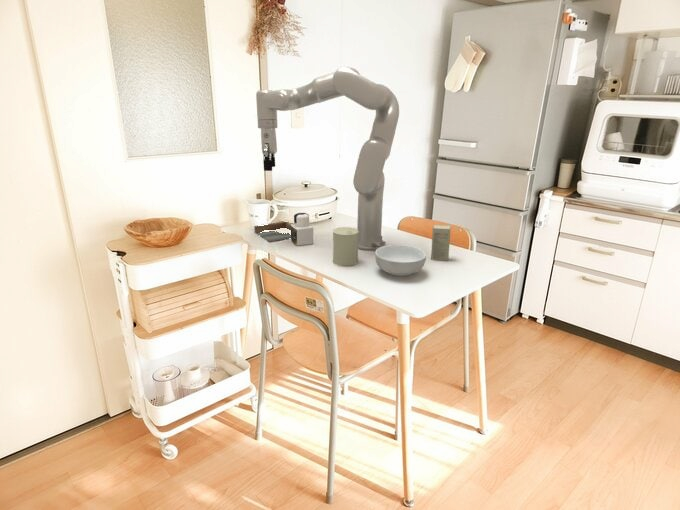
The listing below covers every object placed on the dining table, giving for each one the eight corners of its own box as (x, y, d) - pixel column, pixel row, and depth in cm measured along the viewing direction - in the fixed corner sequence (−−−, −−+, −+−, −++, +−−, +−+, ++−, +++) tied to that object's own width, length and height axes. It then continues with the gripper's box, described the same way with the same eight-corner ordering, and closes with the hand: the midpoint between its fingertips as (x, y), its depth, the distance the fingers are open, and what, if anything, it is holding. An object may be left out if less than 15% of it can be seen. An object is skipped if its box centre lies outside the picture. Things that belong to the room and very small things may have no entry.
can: (342, 268, 153) (343, 235, 148) (327, 260, 160) (327, 228, 155) (363, 262, 158) (364, 230, 154) (347, 255, 165) (348, 224, 161)
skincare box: (448, 257, 163) (451, 225, 159) (448, 261, 159) (451, 229, 155) (431, 255, 165) (433, 224, 161) (430, 259, 161) (432, 227, 157)
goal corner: (303, 236, 186) (303, 229, 185) (269, 242, 178) (269, 235, 177) (287, 227, 198) (286, 220, 197) (254, 232, 190) (254, 226, 189)
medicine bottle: (290, 241, 180) (290, 212, 176) (307, 239, 183) (306, 210, 179) (296, 246, 174) (296, 217, 170) (313, 244, 177) (313, 215, 172)
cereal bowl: (364, 272, 149) (365, 252, 147) (393, 259, 161) (394, 241, 158) (405, 286, 139) (407, 265, 136) (433, 271, 150) (435, 252, 148)
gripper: (274, 125, 162) (276, 172, 168) (279, 122, 178) (281, 165, 184) (254, 125, 162) (257, 172, 168) (261, 122, 178) (263, 165, 184)
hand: (269, 168), depth 176 cm, fingers open, 9 cm apart
